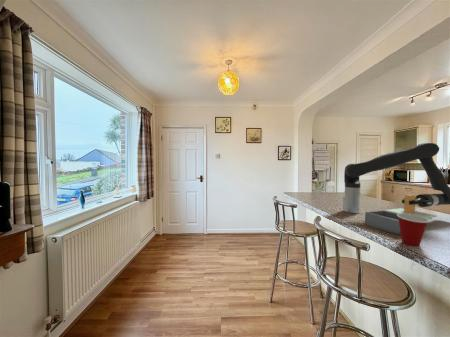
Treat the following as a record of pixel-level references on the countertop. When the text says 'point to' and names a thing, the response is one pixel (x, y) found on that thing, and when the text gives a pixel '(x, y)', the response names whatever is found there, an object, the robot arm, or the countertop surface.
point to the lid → (410, 208)
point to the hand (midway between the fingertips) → (406, 202)
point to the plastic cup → (412, 228)
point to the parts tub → (383, 221)
